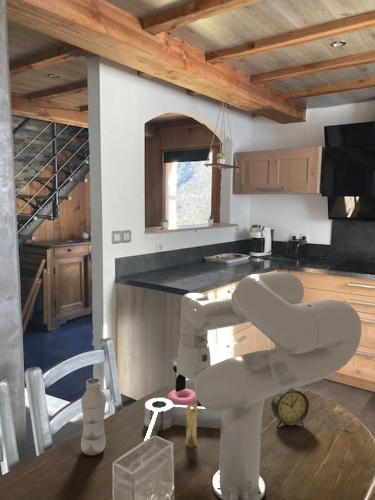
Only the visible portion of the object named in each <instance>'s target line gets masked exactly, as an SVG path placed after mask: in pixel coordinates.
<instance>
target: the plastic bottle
mask: <svg viewBox="0 0 375 500" xmlns="http://www.w3.org/2000/svg"><path fill="white" fill-rule="evenodd" d="M101 382H102V381H101V379H100V378H98V377H97V378H96V377H95V378H89V379H87V380H86V382H85V383H86V386H85V389H86V391H85V392H84V393H83V396H82V397H81V399H80V401H81V402H80V404H81V410H82V422H83V427H82V435H81V440H80V447H81V451H82V453H83V454H84V455H86V456H96V455H99V454H101V453H102V452H104V449H105V447H106V444H107V440H106V439H107V437H106V434H105V424H104V419H105V409H106V404H107V398H106V394H105V393H104V391H102V389H101V388H102V384H101Z"/></svg>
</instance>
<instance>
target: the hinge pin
mask: <svg viewBox="0 0 375 500" xmlns="http://www.w3.org/2000/svg"><path fill="white" fill-rule="evenodd" d="M197 406H198V405H197ZM197 406H195V405H189V406H187V417H186V426H185V446H186V448H190V449H192V448H195V447H196V446H197V436H198V435H197V434H198V433H197V432H198V427H197Z"/></svg>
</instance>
